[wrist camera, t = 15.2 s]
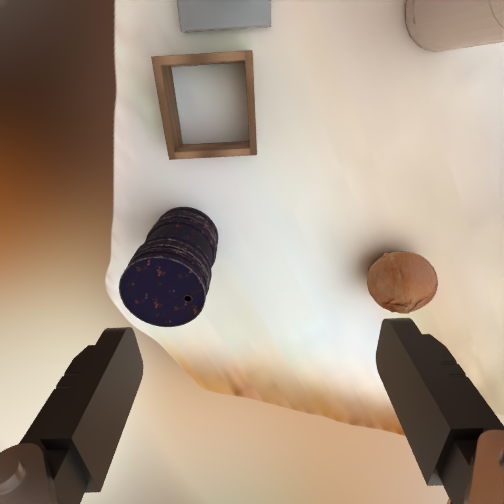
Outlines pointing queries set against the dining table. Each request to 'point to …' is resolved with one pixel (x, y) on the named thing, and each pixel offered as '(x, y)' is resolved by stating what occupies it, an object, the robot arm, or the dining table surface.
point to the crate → (171, 113)
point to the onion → (402, 281)
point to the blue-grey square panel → (223, 14)
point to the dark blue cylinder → (171, 269)
